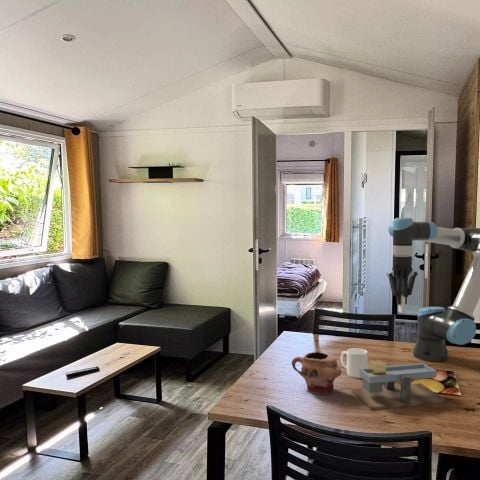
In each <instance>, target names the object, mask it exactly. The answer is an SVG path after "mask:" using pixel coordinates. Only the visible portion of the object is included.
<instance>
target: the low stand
mask: <svg viewBox="0 0 480 480" xmlns="http://www.w3.org/2000/svg"><path fill="white" fill-rule="evenodd" d="M386 366H395V365H394V364H386ZM351 393H352V394H353V395H354V396H355V397H356V398H357V399H358V400H359V401H361V402H362V404H364V405H365V406H366V407H367V408H368V410H370V411H372V410H381V409H382V410H383V409H393V408H402V407H414V406H421V405H434V404H442V403H447V400H446V398H444V397H443V396H441V395H440V394H438V393H437V392H435V391H434V390H432V389H430V388H429V387H428V386H426V385H424V384H423V383H420V382H419V383H418V382H417V383H412V380H411V377H410V376H409V375H406V376H401V383H400V384H397V385H396V384H395V381H391V382H384V386H383V388H382V392H373V393H369V392H368V391H367V390H366V389H365V388H363V387H362V388H353V389H351Z"/></svg>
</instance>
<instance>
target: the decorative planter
mask: <svg viewBox="0 0 480 480" xmlns="http://www.w3.org/2000/svg"><path fill="white" fill-rule="evenodd" d="M296 363H300V364H301V370H298V369H297V367H296ZM291 367H292V368H293V370H294V371H295V372H297V374H299V375H300V376H301V377H302V378H303V379H304V381H305V384H306V387H307V391H308V392H310V393H313V394H317V395H328V394H331V393H332V392H333V391H334V386H335V385H334V382H335V380H336V379H338V377H340V376H341V375H342V370H341V368H340V367H339V366H338V361H337V359H336V358H335V357H333V355H331V354H328V353H324V352H319V351H313V352H308V353H306V354H305V355H304V356H295V357H294V358H293V359H292V361H291Z"/></svg>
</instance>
